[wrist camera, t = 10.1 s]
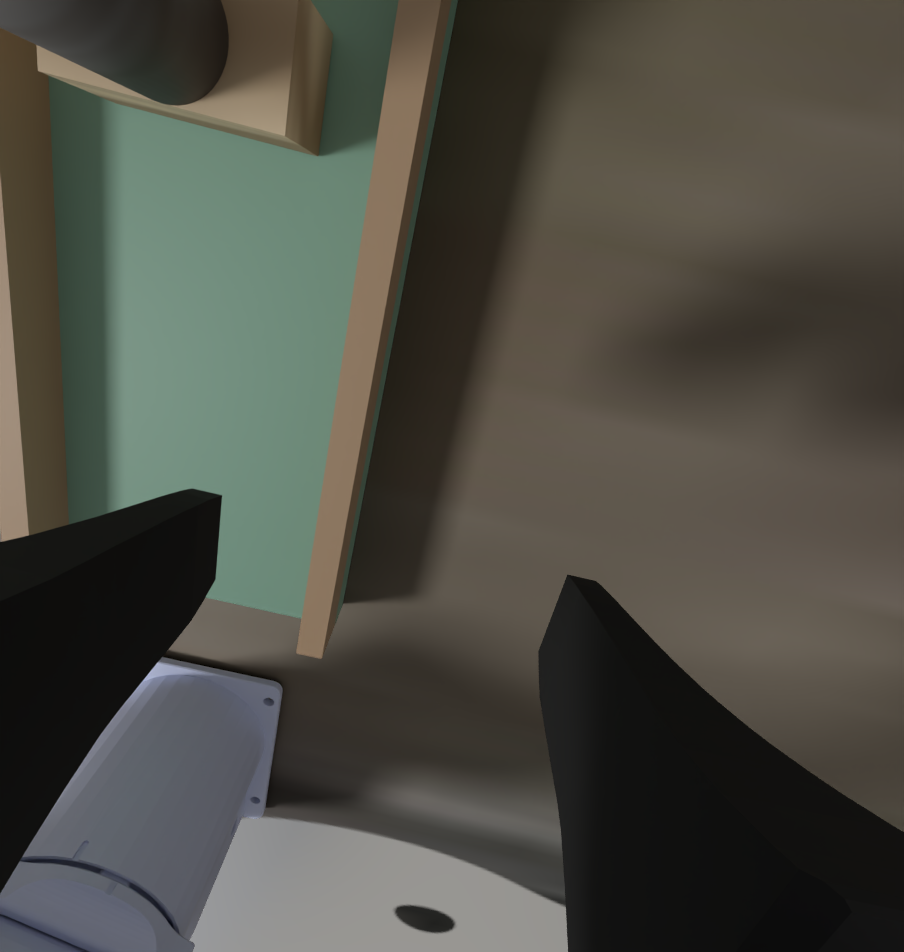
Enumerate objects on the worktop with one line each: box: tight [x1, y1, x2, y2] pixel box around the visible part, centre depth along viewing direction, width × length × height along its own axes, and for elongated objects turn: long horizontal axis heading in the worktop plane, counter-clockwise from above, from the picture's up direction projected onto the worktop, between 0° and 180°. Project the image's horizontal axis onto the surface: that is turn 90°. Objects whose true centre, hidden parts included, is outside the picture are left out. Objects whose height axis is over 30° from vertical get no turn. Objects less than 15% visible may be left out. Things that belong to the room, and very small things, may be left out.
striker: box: [0, 0, 333, 156], centre depth 12 cm, size 3×6×8 cm, turn 77°
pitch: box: [0, 0, 458, 659], centre depth 14 cm, size 32×12×8 cm, turn 167°
